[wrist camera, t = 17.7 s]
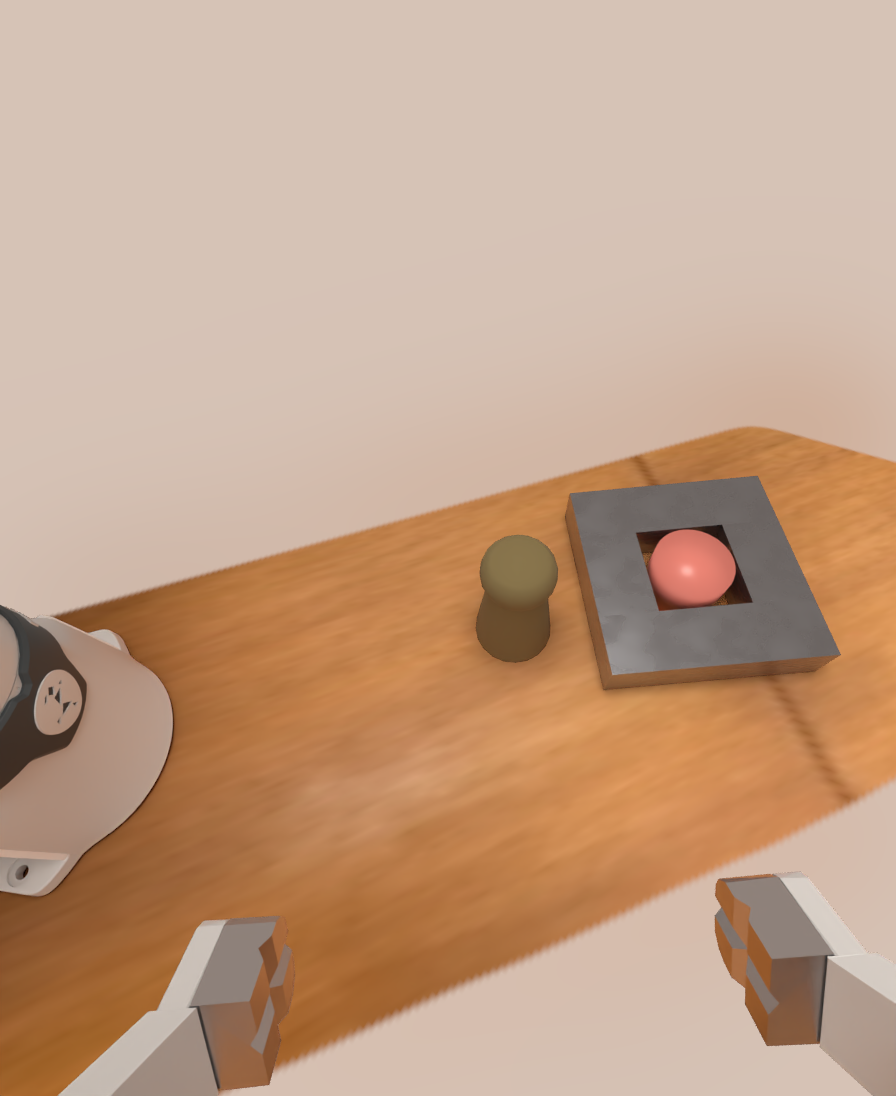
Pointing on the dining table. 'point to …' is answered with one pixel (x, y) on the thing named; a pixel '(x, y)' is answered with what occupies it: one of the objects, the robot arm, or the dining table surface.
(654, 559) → the button
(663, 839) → the dining table surface
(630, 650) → the switch box
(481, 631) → the olive pepper mill
